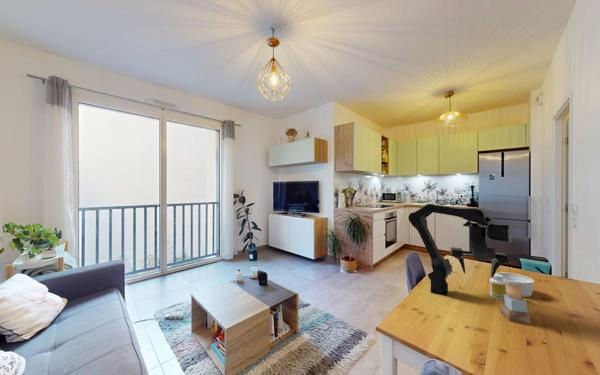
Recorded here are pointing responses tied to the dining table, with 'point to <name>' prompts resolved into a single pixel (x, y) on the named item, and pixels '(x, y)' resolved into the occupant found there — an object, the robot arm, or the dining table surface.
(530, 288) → the ramekin
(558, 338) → the dining table surface
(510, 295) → the terracotta dowel
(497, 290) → the supplement bottle
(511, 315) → the walnut base block
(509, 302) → the slate block
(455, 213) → the robot arm
